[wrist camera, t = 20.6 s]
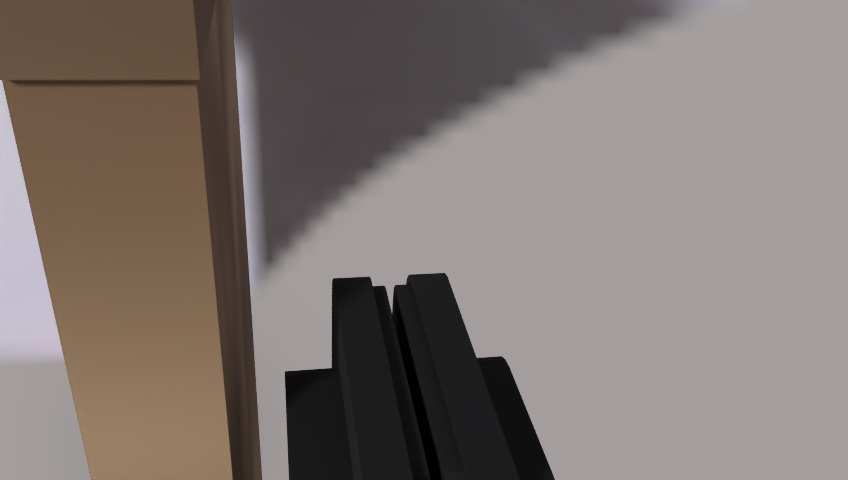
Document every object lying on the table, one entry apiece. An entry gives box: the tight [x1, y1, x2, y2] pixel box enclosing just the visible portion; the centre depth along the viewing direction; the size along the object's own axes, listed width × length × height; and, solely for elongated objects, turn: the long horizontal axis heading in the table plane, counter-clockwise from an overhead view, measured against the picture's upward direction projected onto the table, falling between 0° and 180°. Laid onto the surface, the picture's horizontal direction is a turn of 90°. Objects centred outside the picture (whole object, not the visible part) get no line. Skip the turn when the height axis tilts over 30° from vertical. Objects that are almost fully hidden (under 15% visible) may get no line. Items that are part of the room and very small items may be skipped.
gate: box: [0, 0, 262, 480], centre depth 13 cm, size 19×2×8 cm, turn 177°
